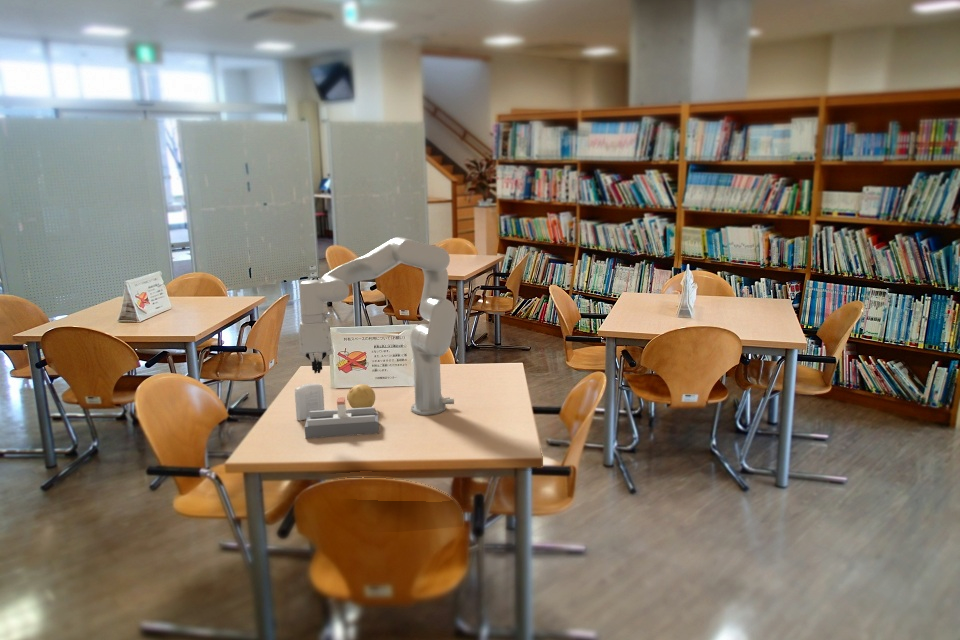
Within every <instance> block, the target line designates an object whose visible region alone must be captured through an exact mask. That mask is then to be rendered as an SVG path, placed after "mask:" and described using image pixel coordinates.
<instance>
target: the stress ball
mask: <svg viewBox="0 0 960 640" xmlns="http://www.w3.org/2000/svg"><path fill="white" fill-rule="evenodd" d="M346 400H347V401H348V404H349V406H350V407H351V408H367V407H374V404H375V401H376V394H375V391H374V389H373V388H372V387H371V386H369V385H368V384H365V383H359V384H356V385H354V386H353V387H352V388H350V389H349V392H348V393H347V397H346Z"/></svg>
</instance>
